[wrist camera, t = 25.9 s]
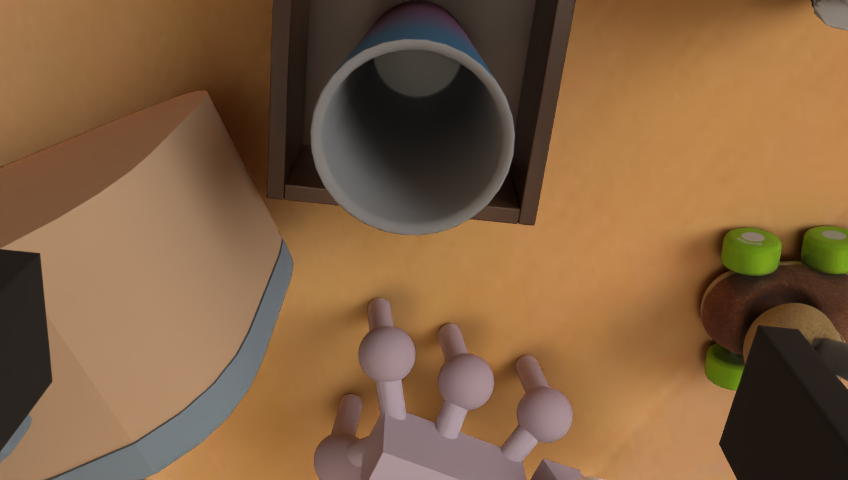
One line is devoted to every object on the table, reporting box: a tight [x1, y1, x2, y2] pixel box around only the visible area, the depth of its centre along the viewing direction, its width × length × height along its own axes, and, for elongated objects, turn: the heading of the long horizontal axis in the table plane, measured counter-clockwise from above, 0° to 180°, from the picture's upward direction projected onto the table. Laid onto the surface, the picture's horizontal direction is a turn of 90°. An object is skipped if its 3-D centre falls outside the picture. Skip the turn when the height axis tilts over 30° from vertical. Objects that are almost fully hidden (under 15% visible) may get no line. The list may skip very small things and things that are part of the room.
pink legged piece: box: [314, 298, 605, 480], centre depth 44 cm, size 20×11×14 cm, turn 66°
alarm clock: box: [0, 90, 293, 480], centre depth 35 cm, size 21×10×22 cm, turn 112°
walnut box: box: [267, 0, 576, 225], centre depth 38 cm, size 13×13×7 cm
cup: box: [310, 0, 515, 235], centre depth 33 cm, size 7×7×15 cm
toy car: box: [701, 226, 848, 390], centre depth 42 cm, size 9×9×11 cm
